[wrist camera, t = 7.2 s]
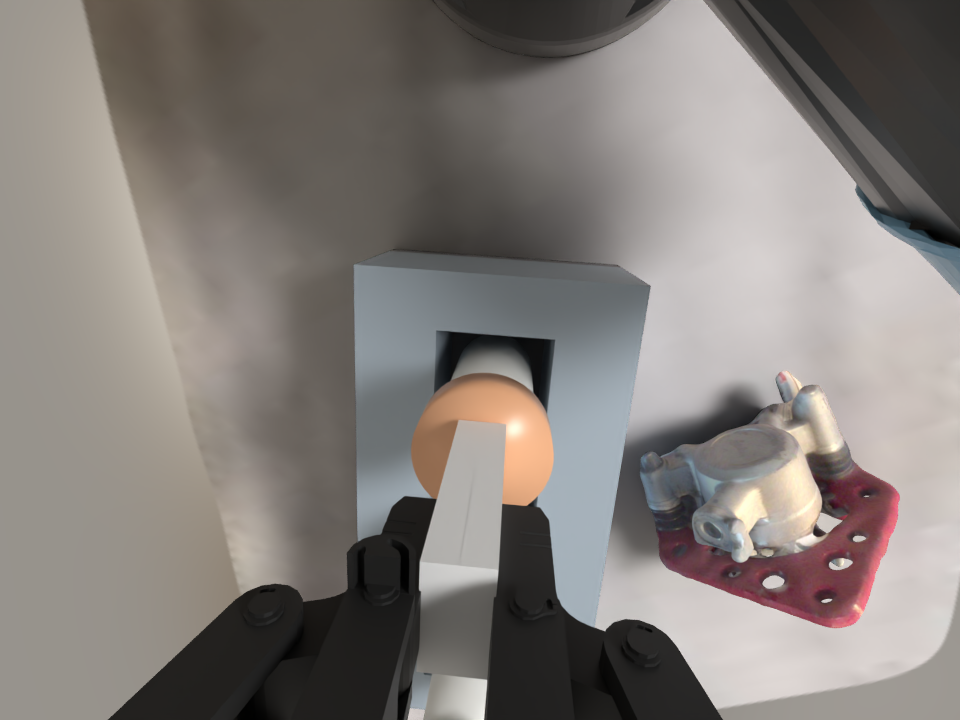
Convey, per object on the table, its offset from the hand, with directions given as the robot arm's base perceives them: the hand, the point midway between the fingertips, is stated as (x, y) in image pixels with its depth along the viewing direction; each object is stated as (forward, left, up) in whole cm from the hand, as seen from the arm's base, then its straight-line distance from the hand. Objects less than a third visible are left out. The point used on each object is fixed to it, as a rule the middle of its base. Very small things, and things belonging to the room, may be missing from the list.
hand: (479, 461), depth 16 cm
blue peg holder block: (+7, 0, -13) cm, 15 cm away
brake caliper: (+6, +14, -14) cm, 21 cm away
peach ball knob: (0, 0, -9) cm, 9 cm away
